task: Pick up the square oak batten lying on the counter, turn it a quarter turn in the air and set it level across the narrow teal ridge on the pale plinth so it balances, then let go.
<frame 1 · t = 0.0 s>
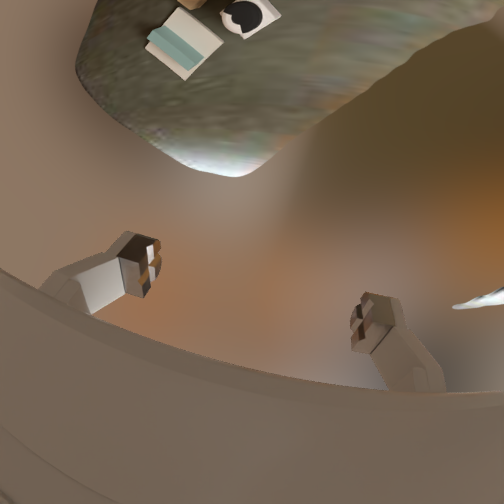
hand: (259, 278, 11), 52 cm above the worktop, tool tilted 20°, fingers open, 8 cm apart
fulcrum: (183, 43, 45), on the worktop
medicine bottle: (256, 12, 38), on the worktop
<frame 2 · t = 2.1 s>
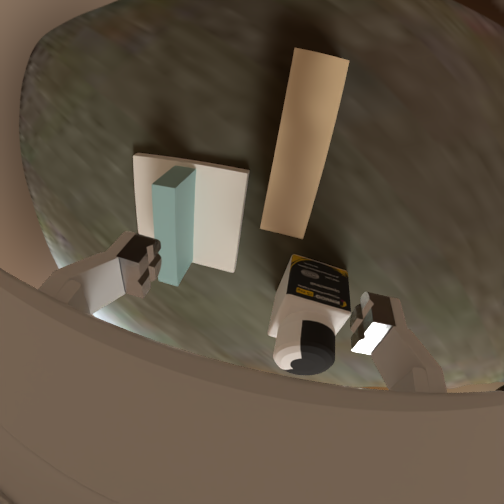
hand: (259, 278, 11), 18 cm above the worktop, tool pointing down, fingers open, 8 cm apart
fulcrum: (187, 212, 32), on the worktop
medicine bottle: (310, 281, 34), on the worktop
batten: (303, 136, 24), on the worktop
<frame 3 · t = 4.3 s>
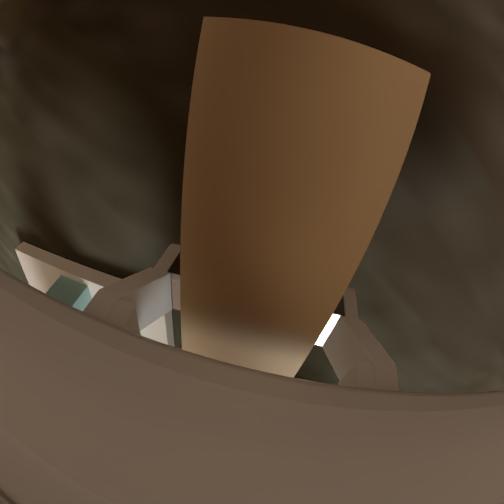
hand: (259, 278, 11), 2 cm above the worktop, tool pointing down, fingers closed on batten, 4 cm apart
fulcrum: (101, 326, 19), on the worktop
batten: (267, 247, 12), on the worktop, touching gripper
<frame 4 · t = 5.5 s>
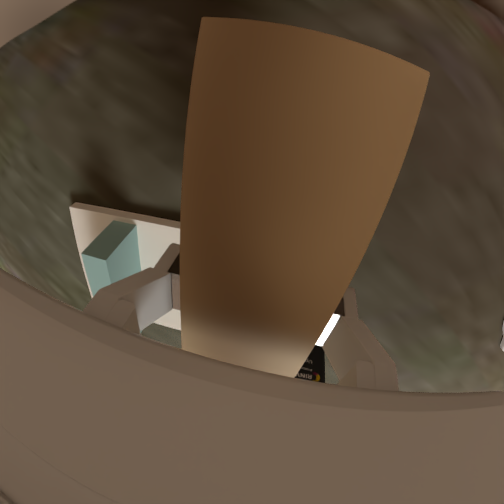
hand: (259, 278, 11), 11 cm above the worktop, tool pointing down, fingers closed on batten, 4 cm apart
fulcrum: (135, 269, 26), on the worktop
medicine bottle: (281, 340, 30), on the worktop
batten: (267, 248, 12), point 9 cm above the worktop, touching gripper
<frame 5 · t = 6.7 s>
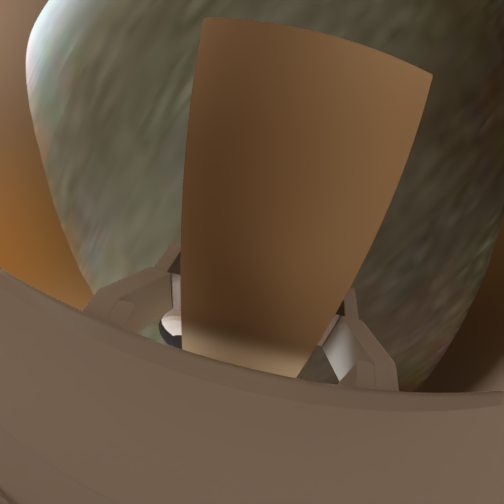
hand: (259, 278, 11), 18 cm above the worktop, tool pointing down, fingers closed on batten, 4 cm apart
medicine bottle: (219, 266, 35), on the worktop
batten: (267, 249, 12), point 16 cm above the worktop, touching gripper
when the fingers open (9 cm above the worktop, at t = 8.9 s): batten stays where it is, resting on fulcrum.
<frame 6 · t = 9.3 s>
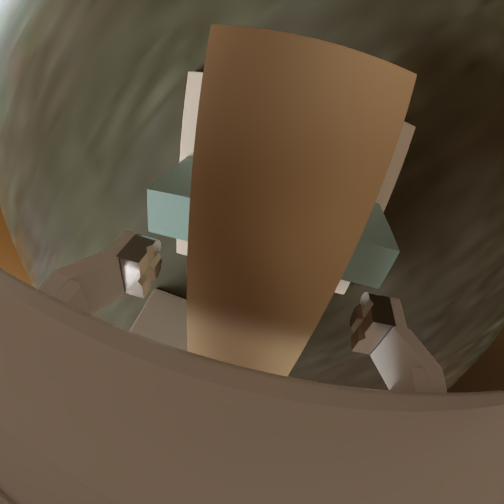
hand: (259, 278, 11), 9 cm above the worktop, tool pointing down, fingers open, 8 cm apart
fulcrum: (281, 188, 17), on the worktop
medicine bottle: (187, 319, 28), on the worktop
batten: (268, 240, 13), point 6 cm above the worktop, touching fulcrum
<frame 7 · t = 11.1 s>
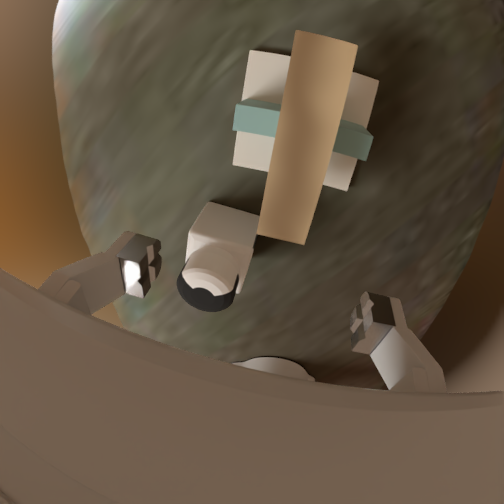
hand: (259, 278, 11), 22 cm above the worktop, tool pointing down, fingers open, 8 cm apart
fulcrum: (303, 119, 27), on the worktop
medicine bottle: (230, 229, 37), on the worktop
batten: (303, 131, 22), point 6 cm above the worktop, touching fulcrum
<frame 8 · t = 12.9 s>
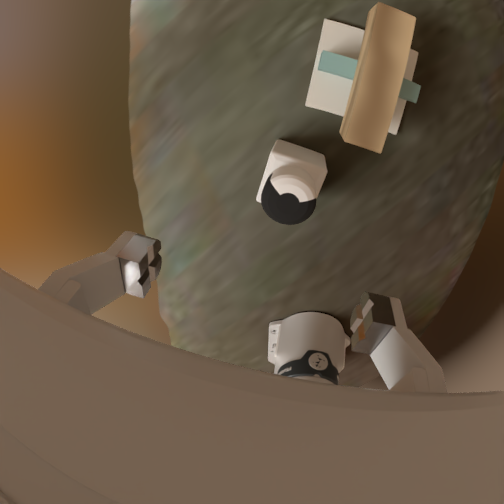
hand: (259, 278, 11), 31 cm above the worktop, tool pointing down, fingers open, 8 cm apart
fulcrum: (362, 75, 29), on the worktop
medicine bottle: (293, 167, 39), on the worktop
batten: (372, 75, 24), point 6 cm above the worktop, touching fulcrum
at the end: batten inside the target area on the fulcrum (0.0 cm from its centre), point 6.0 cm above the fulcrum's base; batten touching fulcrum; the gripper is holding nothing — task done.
